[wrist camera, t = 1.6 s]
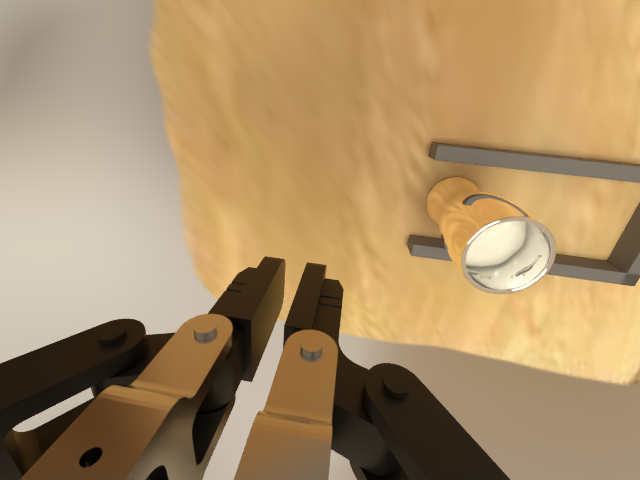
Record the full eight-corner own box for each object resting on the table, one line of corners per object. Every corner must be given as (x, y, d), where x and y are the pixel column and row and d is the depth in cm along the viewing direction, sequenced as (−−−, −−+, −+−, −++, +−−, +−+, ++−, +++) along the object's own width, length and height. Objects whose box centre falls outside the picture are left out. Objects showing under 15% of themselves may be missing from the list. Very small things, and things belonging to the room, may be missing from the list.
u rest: (431, 142, 33) (438, 145, 31) (675, 168, 31) (705, 173, 29) (407, 245, 39) (410, 255, 36) (614, 273, 37) (634, 286, 34)
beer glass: (479, 226, 37) (550, 296, 23) (421, 229, 38) (455, 297, 24) (486, 170, 34) (569, 211, 20) (423, 175, 35) (462, 217, 21)
